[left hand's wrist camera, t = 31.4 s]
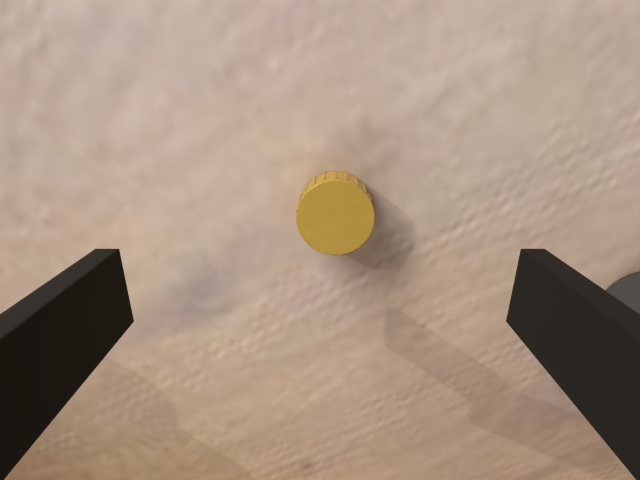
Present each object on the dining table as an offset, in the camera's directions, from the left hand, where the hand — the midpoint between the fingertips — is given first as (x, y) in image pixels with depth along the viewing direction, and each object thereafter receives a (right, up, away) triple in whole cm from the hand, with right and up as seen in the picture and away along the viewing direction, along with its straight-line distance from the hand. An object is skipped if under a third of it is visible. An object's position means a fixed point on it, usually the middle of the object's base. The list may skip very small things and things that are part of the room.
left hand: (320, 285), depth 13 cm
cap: (+1, +3, +7) cm, 7 cm away
